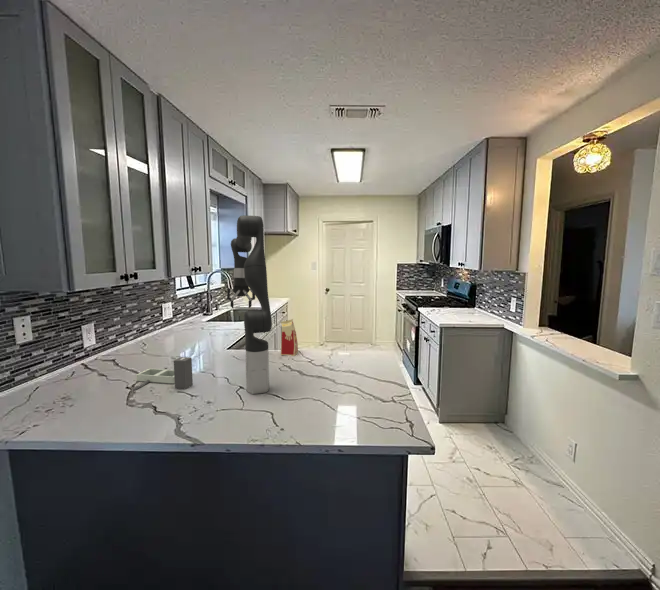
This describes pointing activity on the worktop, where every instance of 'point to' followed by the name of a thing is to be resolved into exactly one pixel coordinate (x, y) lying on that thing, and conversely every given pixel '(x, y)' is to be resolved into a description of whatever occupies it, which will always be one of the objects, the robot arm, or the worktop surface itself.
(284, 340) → the milk carton
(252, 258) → the robot arm
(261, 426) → the worktop surface
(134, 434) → the worktop surface
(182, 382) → the block
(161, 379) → the two-compartment tray
